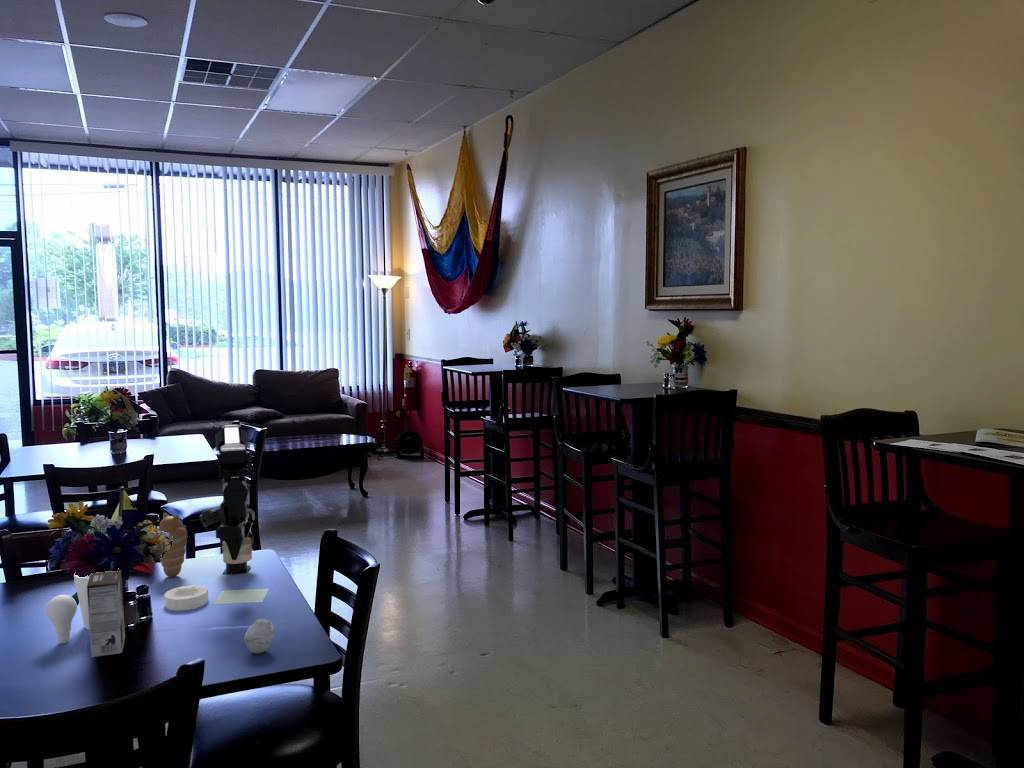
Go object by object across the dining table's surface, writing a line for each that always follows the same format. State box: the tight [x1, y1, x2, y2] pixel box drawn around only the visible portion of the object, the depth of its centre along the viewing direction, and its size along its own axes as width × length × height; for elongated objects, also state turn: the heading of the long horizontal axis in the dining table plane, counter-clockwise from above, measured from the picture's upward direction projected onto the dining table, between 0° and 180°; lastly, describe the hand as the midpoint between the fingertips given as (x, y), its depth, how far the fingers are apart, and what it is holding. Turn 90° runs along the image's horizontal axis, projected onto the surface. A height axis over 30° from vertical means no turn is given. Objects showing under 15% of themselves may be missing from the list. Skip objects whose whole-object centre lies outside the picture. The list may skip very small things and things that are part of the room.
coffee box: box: [87, 569, 126, 658], centre depth 178 cm, size 9×6×16 cm
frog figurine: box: [243, 618, 275, 654], centre depth 176 cm, size 6×7×7 cm
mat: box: [213, 588, 270, 605], centre depth 209 cm, size 10×12×1 cm
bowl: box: [163, 584, 209, 612], centre depth 205 cm, size 10×10×3 cm
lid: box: [222, 537, 253, 564], centre depth 208 cm, size 7×7×5 cm
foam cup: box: [73, 573, 90, 631], centre depth 191 cm, size 10×9×13 cm
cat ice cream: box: [158, 512, 188, 578], centre depth 225 cm, size 9×8×18 cm
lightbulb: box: [45, 594, 78, 644], centre depth 181 cm, size 6×6×11 cm
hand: (237, 555), depth 208 cm, fingers closed on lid, 7 cm apart
